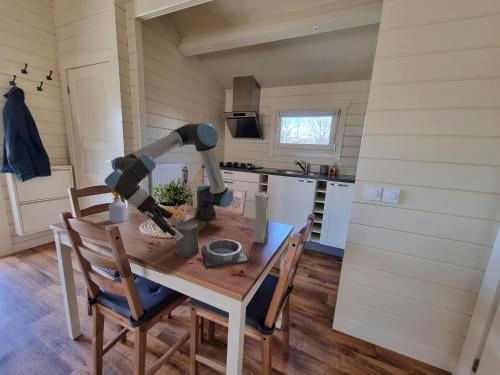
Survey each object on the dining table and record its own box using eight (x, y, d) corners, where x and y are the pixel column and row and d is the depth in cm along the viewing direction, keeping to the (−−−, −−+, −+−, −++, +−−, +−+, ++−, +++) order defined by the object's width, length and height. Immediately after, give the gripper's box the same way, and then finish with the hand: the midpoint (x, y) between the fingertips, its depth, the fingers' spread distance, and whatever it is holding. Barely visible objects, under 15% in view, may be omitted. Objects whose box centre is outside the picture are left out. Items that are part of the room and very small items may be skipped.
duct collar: (202, 247, 104) (202, 240, 103) (237, 244, 110) (237, 236, 109) (206, 267, 87) (206, 258, 87) (248, 262, 93) (248, 253, 92)
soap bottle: (110, 224, 127) (107, 184, 123) (108, 219, 134) (105, 181, 130) (127, 221, 133) (125, 183, 128) (125, 217, 140) (122, 180, 135)
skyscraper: (266, 245, 110) (270, 192, 105) (251, 243, 111) (254, 191, 106) (268, 238, 118) (271, 189, 113) (253, 236, 120) (256, 188, 114)
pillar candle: (190, 245, 106) (190, 217, 103) (202, 252, 100) (202, 222, 97) (172, 252, 99) (171, 221, 96) (184, 260, 92) (183, 227, 89)
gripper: (140, 199, 99) (175, 227, 107) (128, 217, 76) (173, 251, 83) (152, 188, 100) (185, 217, 107) (144, 202, 77) (187, 237, 84)
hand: (180, 232), depth 95 cm, fingers open, 13 cm apart
